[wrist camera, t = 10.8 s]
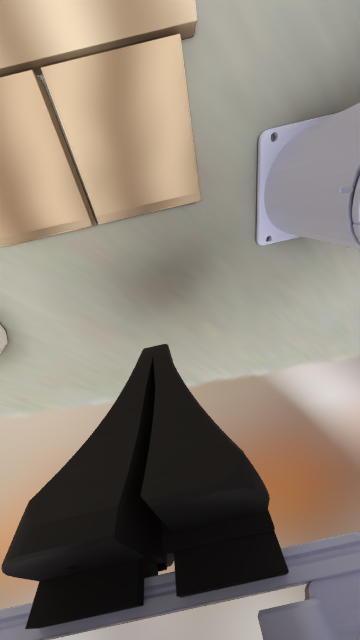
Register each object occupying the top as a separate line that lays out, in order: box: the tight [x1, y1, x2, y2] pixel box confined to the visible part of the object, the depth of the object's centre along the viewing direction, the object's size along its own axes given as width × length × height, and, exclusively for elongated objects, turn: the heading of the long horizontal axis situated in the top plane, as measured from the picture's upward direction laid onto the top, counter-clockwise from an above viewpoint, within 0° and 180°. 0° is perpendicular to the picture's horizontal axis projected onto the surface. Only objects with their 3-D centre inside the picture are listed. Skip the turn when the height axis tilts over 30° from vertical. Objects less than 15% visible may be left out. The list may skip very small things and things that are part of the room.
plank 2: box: [41, 34, 201, 224], centre depth 13 cm, size 8×8×1 cm
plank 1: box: [0, 70, 97, 248], centre depth 13 cm, size 8×8×1 cm
